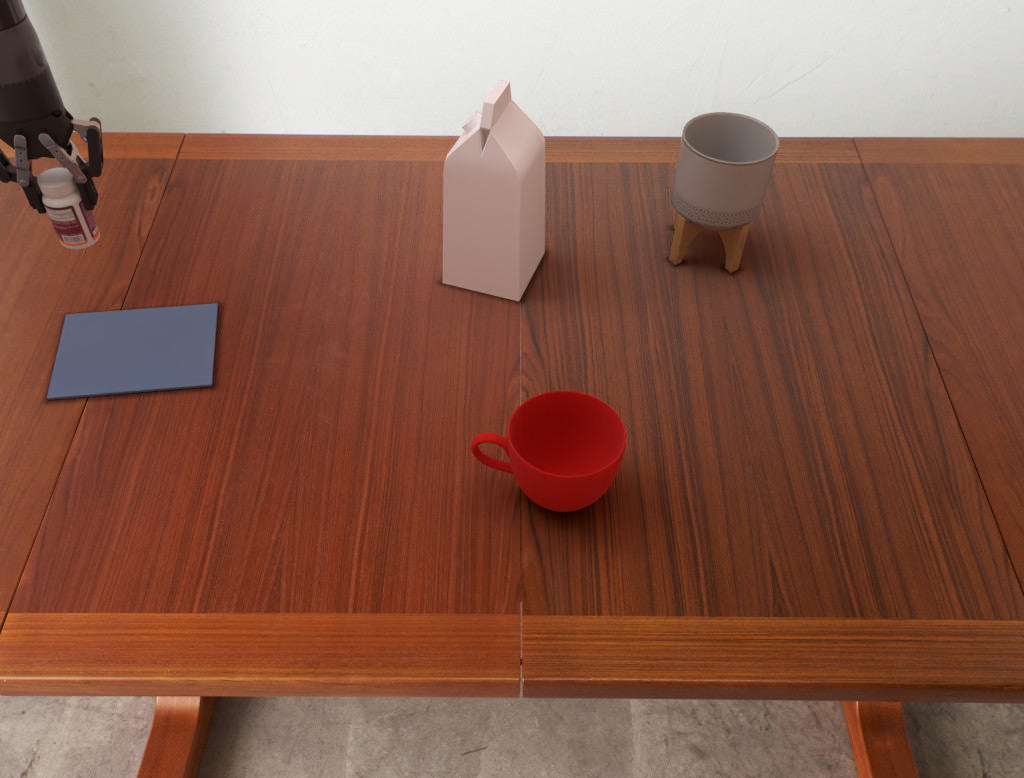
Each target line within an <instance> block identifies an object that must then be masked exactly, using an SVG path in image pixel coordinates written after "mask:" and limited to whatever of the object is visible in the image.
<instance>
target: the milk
mask: <svg viewBox="0 0 1024 778" xmlns="http://www.w3.org/2000/svg"><path fill="white" fill-rule="evenodd" d="M511 90H512V89H511V81H506V80H501V79H499V80H498V81H497V83H496V84H495V86H493V89H492V90H491V91H490V93H489V94H488V96H486V98H485V100H484V101H483V105H482V110H481V112H480V111H479V110H476V111H475V112H474V113H472V115H470V116H469V117H468V119H466V121H465V122H464V123H463V124H462V126H461V128H462V129H463V131H462V133H461V135H460V136H459V137H458V139H457V140H456V141H455V143H454V144H453V146H452V147H451V148H450V150H449V151H448V153H447V154H446V157H445V159H444V163H443V170H442V171H443V172H442V174H443V175H442V284H445V285H448V286H453V287H456V288H460V289H465V290H470V291H473V292H478V293H482V294H485V295H490V296H495V297H498V298H503V299H507V300H511V301H515V302H520V301H521V298H522V297H523V295H524V293H525V291H526V290H527V287H528V285H529V284H530V281H531V280H532V278H533V277H534V274H535V272H536V270H537V268H538V266H539V264H540V263H541V261H542V259H543V257H544V255H545V253H546V250H545V249H546V139H545V135H544V133H543V132H542V130H541V129H540V127H538V125H537V124H536V123H535V122H534V121H533V120H532V119H531V118H530V117H529V116H528V115H527V113H525V112H524V110H523V109H522V108H521V107H520V106H519V105H518V104H517V103H516V102H515V101H514V100H512V91H511Z"/></svg>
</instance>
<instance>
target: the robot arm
mask: <svg viewBox="0 0 1024 778" xmlns="http://www.w3.org/2000/svg"><path fill="white" fill-rule="evenodd" d="M74 132H76V133H78V135H79V137H80V139H81V141H82V142H83V143H84V144H85V143H87V155H88V161H86V160H85V158H83V156H82V155H81V153H80V152H79V149H78V147H77V146H76V144H75V143H74V142H73V140H71V137H72V136H73V133H74ZM0 140H1V141H2V142H3V143H5V144H6V145H7V146H9V147H10V148H11V149H13V150H14V159H15V161H14V163H15V165H14V164H13V163H12V162H11V161H10V159H9V158H8V156H7V155H6V154H5V153H4V151H3V149H2V148H1V147H0V181H1V182H2V183H4V184H8V183H10V182H13V183H16V184H18V185H19V186H20V187H21V188H22V190H23V193H24V195H25V197H26V200H27V202H28V204H29V206H30V207H31V208H32V209H33V210H37V213H38V214H39V215H43V214H44V215H45V214H47V211H46V209H45V207H44V204H43V202H42V198H41V197H42V191H41V189H40V187H39V185H38V182H37V178H38V176H37V175H34V174H33V161H34V160H39V159H42V158H46V159H55V160H56V161H57V162H58V163H59V164H60V165H61V168H66V169H68V171H69V172H70V173H71V174H72V176H73V177H74V178H75V179H76V181H77V183H76V185H77V187H78V190H79V192H80V195H81V197H82V200H83V202H84V205H85V207H86V210H87V211H89V210H91V211H95V207H96V206H97V205H98V202H99V201H98V200H99V192H98V190H97V187H96V184H95V182H94V178H100V177H101V176H102V172H103V169H104V163H105V161H104V159H105V158H104V147H103V131H102V121H101V120H100V118H98V117H96V116H92V117H90V118H89V120H85V119H79V118H74V116H73V114H71V112H70V111H68V109H67V108H66V107H65V104H64V102H63V99H62V96H61V92H60V90H59V88H58V85H57V83H56V79H55V77H54V75H53V71H52V69H51V66H50V64H49V61H48V59H47V55H46V53H45V51H44V48H43V46H42V42H41V40H40V38H39V35H38V33H37V31H36V29H35V27H34V25H33V23H32V21H31V19H30V18H29V15H28V12H27V11H26V8H25V6H24V3H23V0H0Z"/></svg>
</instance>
